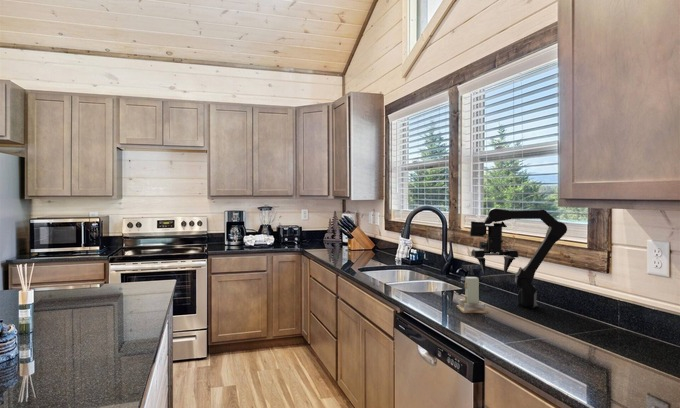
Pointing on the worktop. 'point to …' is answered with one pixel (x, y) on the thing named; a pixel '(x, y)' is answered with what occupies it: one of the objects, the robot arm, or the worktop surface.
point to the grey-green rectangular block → (471, 290)
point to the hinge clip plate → (471, 307)
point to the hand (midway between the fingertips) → (494, 273)
